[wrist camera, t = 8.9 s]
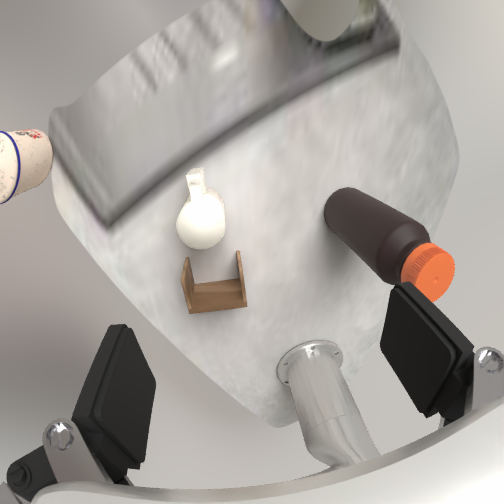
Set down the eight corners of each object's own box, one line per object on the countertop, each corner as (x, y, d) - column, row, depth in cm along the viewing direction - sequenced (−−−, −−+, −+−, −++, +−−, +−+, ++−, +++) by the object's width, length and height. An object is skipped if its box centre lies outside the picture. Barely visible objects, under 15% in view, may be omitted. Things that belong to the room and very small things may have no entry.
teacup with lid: (54, 121, 28) (1, 125, 17) (57, 184, 31) (8, 208, 21) (0, 138, 26) (-50, 149, 16) (4, 193, 30) (-43, 217, 19)
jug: (226, 222, 37) (228, 246, 29) (188, 227, 36) (181, 252, 29) (218, 163, 33) (218, 171, 26) (179, 169, 33) (167, 179, 26)
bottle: (357, 237, 40) (440, 316, 21) (316, 227, 38) (391, 311, 20) (372, 194, 37) (472, 251, 19) (332, 180, 36) (427, 233, 18)
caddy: (243, 282, 41) (247, 306, 35) (192, 289, 40) (189, 313, 35) (239, 250, 38) (242, 271, 33) (185, 257, 38) (180, 279, 33)
